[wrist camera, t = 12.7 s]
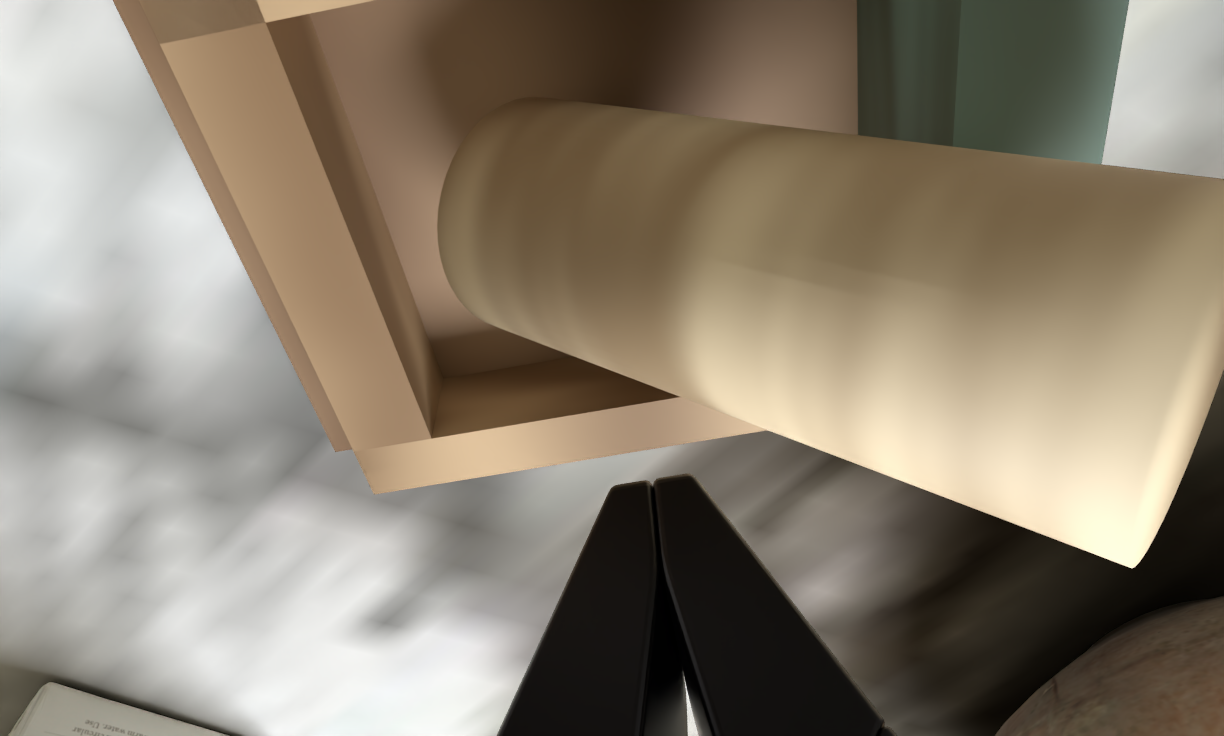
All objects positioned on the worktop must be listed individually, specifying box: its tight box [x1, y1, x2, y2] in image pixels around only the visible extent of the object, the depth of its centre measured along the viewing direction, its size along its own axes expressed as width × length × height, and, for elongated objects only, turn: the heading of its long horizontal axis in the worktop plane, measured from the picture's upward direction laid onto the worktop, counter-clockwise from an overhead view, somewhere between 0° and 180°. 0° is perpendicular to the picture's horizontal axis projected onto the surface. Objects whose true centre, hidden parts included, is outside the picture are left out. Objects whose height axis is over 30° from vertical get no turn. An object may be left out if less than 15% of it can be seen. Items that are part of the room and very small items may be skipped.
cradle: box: [113, 0, 1129, 494], centre depth 15 cm, size 16×11×6 cm
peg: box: [437, 97, 1224, 568], centre depth 12 cm, size 4×4×10 cm
